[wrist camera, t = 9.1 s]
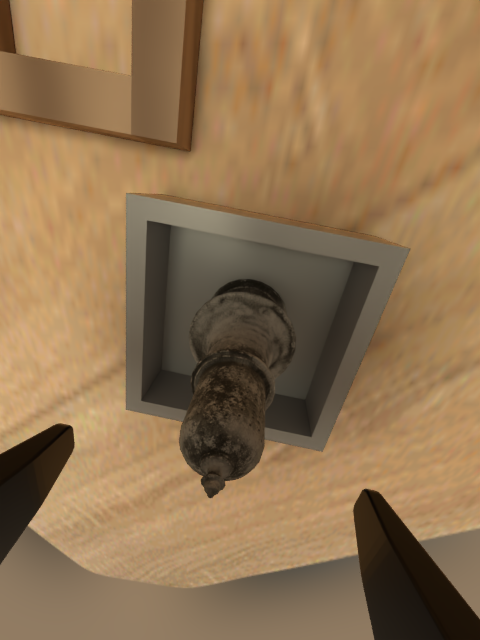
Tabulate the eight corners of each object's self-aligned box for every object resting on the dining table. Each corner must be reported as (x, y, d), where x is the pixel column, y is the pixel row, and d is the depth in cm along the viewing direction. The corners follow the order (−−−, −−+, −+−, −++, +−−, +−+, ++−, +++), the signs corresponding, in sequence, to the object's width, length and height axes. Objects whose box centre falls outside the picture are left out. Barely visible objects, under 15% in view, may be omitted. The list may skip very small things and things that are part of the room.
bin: (375, 236, 16) (410, 248, 12) (312, 403, 22) (322, 451, 18) (161, 194, 17) (126, 192, 12) (152, 370, 22) (125, 409, 18)
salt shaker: (298, 279, 17) (349, 429, 6) (284, 360, 19) (302, 574, 8) (203, 269, 17) (86, 394, 6) (202, 350, 20) (115, 542, 9)
